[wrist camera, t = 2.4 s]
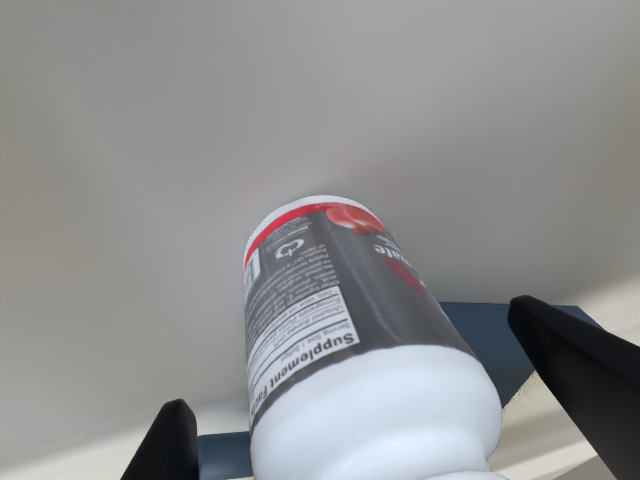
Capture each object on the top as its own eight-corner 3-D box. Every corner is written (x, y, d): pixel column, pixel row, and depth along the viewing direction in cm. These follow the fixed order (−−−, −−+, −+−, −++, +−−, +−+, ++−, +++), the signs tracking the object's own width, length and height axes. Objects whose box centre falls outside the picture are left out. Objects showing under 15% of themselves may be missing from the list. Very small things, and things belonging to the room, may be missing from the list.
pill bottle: (411, 243, 14) (660, 574, 6) (316, 326, 15) (410, 680, 7) (315, 156, 11) (544, 566, 3) (210, 268, 12) (172, 743, 4)
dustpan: (577, 305, 18) (638, 358, 16) (453, 460, 26) (479, 513, 24) (191, 294, 13) (179, 373, 10) (180, 495, 21) (172, 570, 18)
